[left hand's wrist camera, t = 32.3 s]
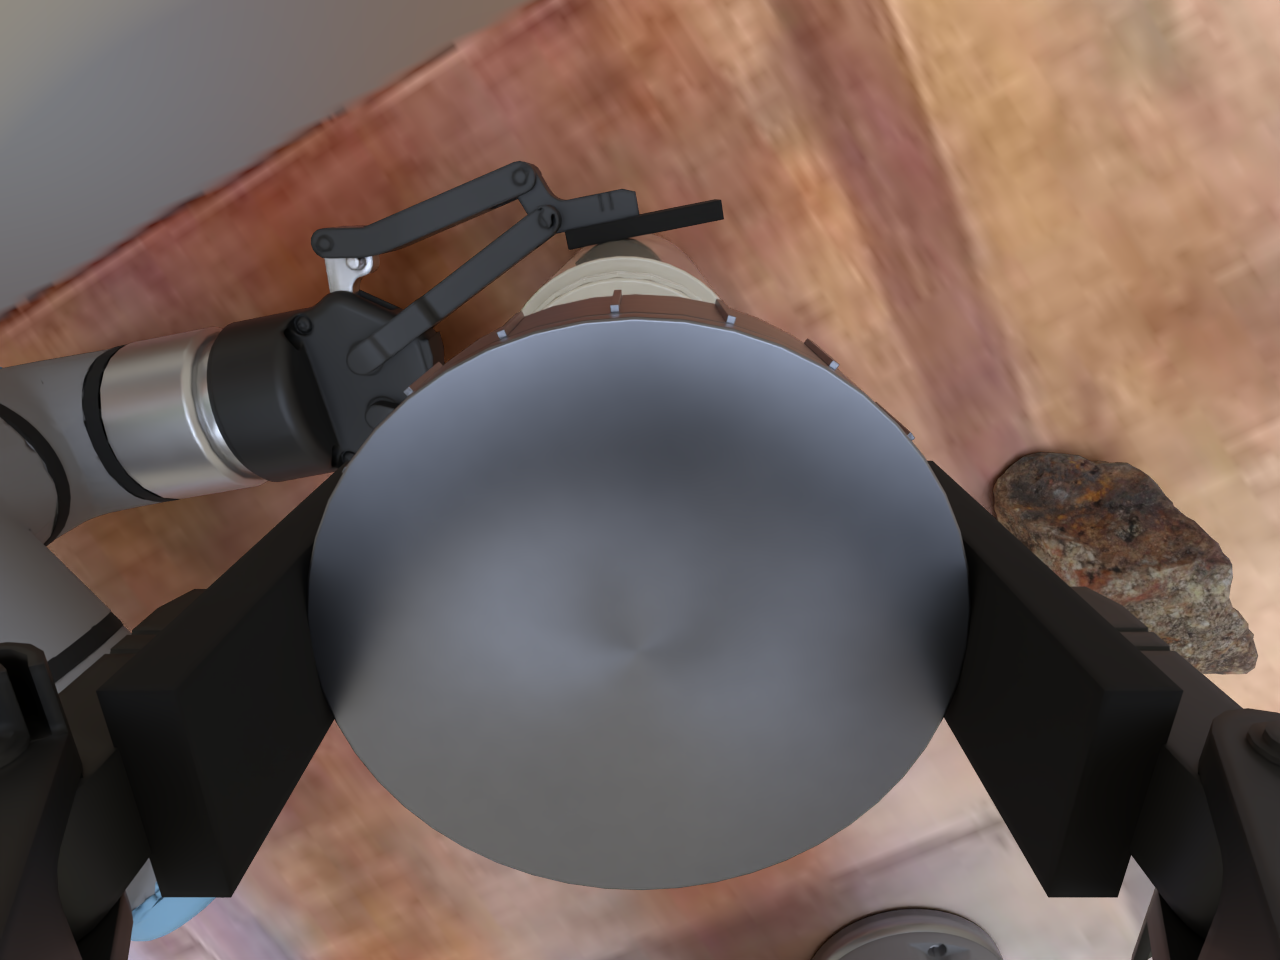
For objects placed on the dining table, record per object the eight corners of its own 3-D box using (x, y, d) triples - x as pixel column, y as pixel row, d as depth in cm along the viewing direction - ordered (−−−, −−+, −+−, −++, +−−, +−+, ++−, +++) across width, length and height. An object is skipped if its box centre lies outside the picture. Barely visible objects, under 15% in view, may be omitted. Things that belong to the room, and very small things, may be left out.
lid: (239, 485, 11) (157, 545, 9) (758, 161, 10) (787, 155, 8) (557, 859, 14) (543, 966, 12) (1001, 658, 13) (1068, 743, 11)
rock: (1134, 414, 42) (960, 467, 43) (1250, 452, 34) (1031, 516, 35) (1168, 631, 46) (1007, 675, 47) (1279, 713, 38) (1081, 763, 39)
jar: (716, 237, 38) (778, 273, 21) (699, 392, 41) (741, 534, 24) (556, 224, 38) (489, 250, 21) (551, 381, 41) (487, 516, 24)
